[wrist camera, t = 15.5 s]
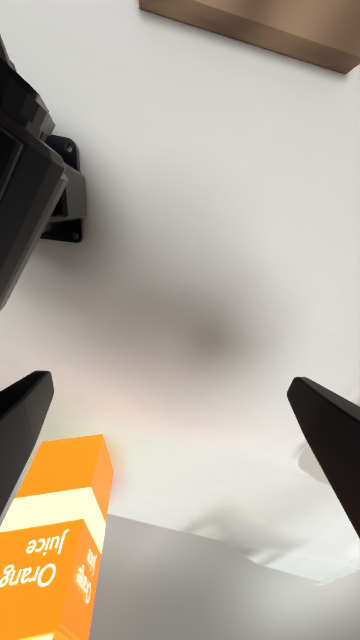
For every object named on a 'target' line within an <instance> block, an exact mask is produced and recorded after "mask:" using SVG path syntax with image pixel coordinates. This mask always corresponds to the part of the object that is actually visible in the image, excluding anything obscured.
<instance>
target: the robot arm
mask: <svg viewBox="0 0 360 640" xmlns="http://www.w3.org/2000/svg"><path fill="white" fill-rule="evenodd" d="M48 113H49V111H48V109H47V107H46V106H45V104H44V102H43V100H42V99H41V97H40V95H39V94H38V93H37V92H36V91H35V90H34V89H33V88H32V87H31V86H30V85H29V84H28V83H27V82H26V81H25V80H24V79H23V78H22V77H21V76H20V75H19V74H18V73H17V72H16V69H15V66H14V64H13V63H12V62H11V61H10V60H9V57H8V54H7V52H6V49H5V46H4V44H3V41H2V38H1V35H0V310H1V309H2V308H3V307H4V306H5V304H6V302H7V300H8V299H9V297H10V295H11V293H12V291H13V289H14V287H15V285H16V283H17V281H18V279H19V277H20V275H21V273H22V271H23V269H24V267H25V265H26V263H27V261H28V259H29V257H30V255H31V253H32V251H33V250H34V248H35V246H36V244H37V242H38V240H39V238H40V239H49V240H57V241H65V242H73V243H79V242H81V241H82V240H83V237H84V236H83V219H82V218H84V217H85V216H86V196H85V178H84V176H83V175H82V174H81V173H80V170H79V153H78V147H77V145H76V144H75V143H74V142H73V141H72V140H71V139H69V138H66V137H61V136H56V135H51V134H52V131H53V129H54V127H55V123H54V122H53V120H52V118H51V116H50V115H49V114H48ZM67 145H72V148H73V149H72V151H71V152H68V151H67V149H66V148H67ZM74 233H77V234H78V236H79V238H78V239H76V238H74V236H73V234H74ZM53 395H54V387H53V381H52V375H51V373H50V372H49V371H34V372H32V373H31V374H29V375H27V376H26V377H24V378H22V379H21V380H19V381H17V382H15V383H14V384H12V385H10V386H9V387H7V388H5V389H4V390H2V391H0V516H1V514H2V512H3V510H4V507H5V506H6V504H7V502H8V500H9V498H10V495H11V493H12V491H13V489H14V487H15V485H16V483H17V481H18V479H19V477H20V475H21V473H22V471H23V469H24V467H25V465H26V463H27V461H28V459H29V457H30V455H31V453H32V450H33V448H34V446H35V444H36V441H37V439H38V436H39V434H40V431H41V428H42V425H43V423H44V420H45V417H46V414H47V412H48V409H49V406H50V404H51V401H52V398H53ZM287 398H288V400H289V402H290V405H291V407H292V409H293V412H294V414H295V416H296V418H297V421H298V423H299V425H300V428H301V430H302V432H303V434H304V436H305V438H306V440H307V442H308V444H309V446H310V448H311V449H312V451H313V453H314V455H315V457H316V459H317V461H318V462H319V464H320V466H321V468H322V470H323V472H324V473H325V475H326V477H327V479H328V481H329V483H330V485H331V486H332V488H333V490H334V492H335V494H336V496H337V497H338V499H339V501H340V503H341V505H342V507H343V509H344V510H345V512H346V514H347V516H348V518H349V520H350V521H351V523H352V525H353V527H354V529H355V531H356V533H357V534H358V536H359V538H360V407H359V406H357V405H356V404H354V403H352V402H350V401H348V400H347V399H345V398H343V397H341V396H339V395H337V394H336V393H334V392H332V391H330V390H328V389H327V388H325V387H323V386H321V385H319V384H317V383H316V382H314V381H312V380H310V379H308V378H306V377H295V378H294V379H293V381H292V383H291V385H290V387H289V389H288V391H287Z"/></svg>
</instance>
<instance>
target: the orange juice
mask: <svg viewBox="0 0 360 640" xmlns="http://www.w3.org/2000/svg"><path fill="white" fill-rule="evenodd" d="M112 477H113V469H112V465H111V462H110V459H109V455H108V452H107V448H106V445H105V441H104V438H103V435H94V436H86V437H78V438H70V439H62V440H54V441H47V442H42V444H41V446H40V448H39V450H38V452H37V454H36V456H35V458H34V460H33V462H32V464H31V466H30V469H29V471H28V473H27V475H26V477H25V479H24V481H23V483H22V485H21V487H20V489H19V491H18V493H17V495H16V497H15V498H14V500H13V502H12V504H11V506H10V509H9V511H8V513H7V515H6V517H5V519H4V521H3V523H2V525H1V527H0V640H88V637H89V631H90V624H91V617H92V611H93V604H94V596H95V590H96V584H97V577H98V570H99V564H100V557H101V553H102V546H103V539H104V533H105V525H106V517H107V510H108V504H109V497H110V490H111V484H112Z"/></svg>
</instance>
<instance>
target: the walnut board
mask: <svg viewBox="0 0 360 640" xmlns="http://www.w3.org/2000/svg"><path fill="white" fill-rule="evenodd" d="M139 7H140V9H144V10H147V11H150V12H153V13H156V14H159V15H162V16H166V17H169V18H172V19H175V20H178V21H181V22H184V23H187V24H191V25H194V26H197V27H200V28H203V29H206V30H209V31H213V32H216V33H219V34H222V35H225V36H228V37H231V38H234V39H238V40H241V41H244V42H247V43H250V44H253V45H256V46H260V47H263V48H266V49H269V50H272V51H275V52H278V53H281V54H285V55H288V56H291V57H294V58H297V59H300V60H303V61H307V62H310V63H313V64H316V65H319V66H322V67H325V68H328V69H332V70H335V71H338V72H341V73H344V74H346V73H348V72H349V71H351V70H352V69H353V68H355V67H356V66H357V65H359V64H360V0H139Z"/></svg>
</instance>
